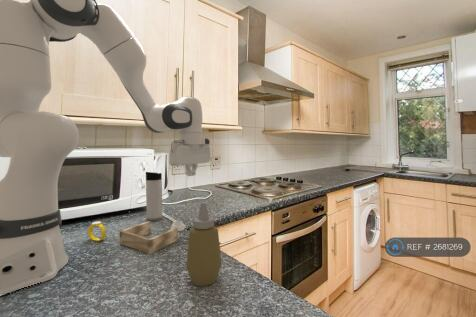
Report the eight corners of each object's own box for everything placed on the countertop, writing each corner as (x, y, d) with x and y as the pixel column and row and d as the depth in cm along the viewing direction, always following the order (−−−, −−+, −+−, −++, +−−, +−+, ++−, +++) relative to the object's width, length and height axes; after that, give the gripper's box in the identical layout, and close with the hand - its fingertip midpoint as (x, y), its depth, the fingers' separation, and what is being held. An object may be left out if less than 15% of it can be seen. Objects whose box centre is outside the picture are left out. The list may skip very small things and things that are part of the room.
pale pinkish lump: (186, 227, 88) (172, 227, 88) (186, 219, 88) (172, 219, 88) (183, 232, 83) (169, 232, 83) (183, 224, 83) (169, 224, 83)
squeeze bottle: (201, 295, 49) (201, 210, 47) (179, 279, 54) (178, 203, 53) (228, 278, 55) (228, 202, 53) (206, 266, 60) (205, 197, 59)
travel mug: (142, 219, 96) (141, 171, 95) (155, 215, 102) (154, 170, 100) (153, 222, 93) (152, 172, 92) (165, 217, 99) (164, 171, 98)
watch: (86, 241, 76) (85, 223, 75) (94, 238, 78) (92, 220, 78) (101, 242, 74) (99, 224, 74) (108, 239, 77) (106, 221, 76)
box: (150, 254, 66) (149, 240, 66) (120, 243, 73) (119, 231, 73) (177, 240, 76) (177, 228, 76) (148, 232, 83) (148, 221, 83)
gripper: (177, 139, 80) (178, 179, 81) (213, 140, 97) (213, 173, 98) (164, 140, 83) (165, 178, 84) (201, 140, 101) (201, 172, 101)
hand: (191, 175), depth 91 cm, fingers closed
